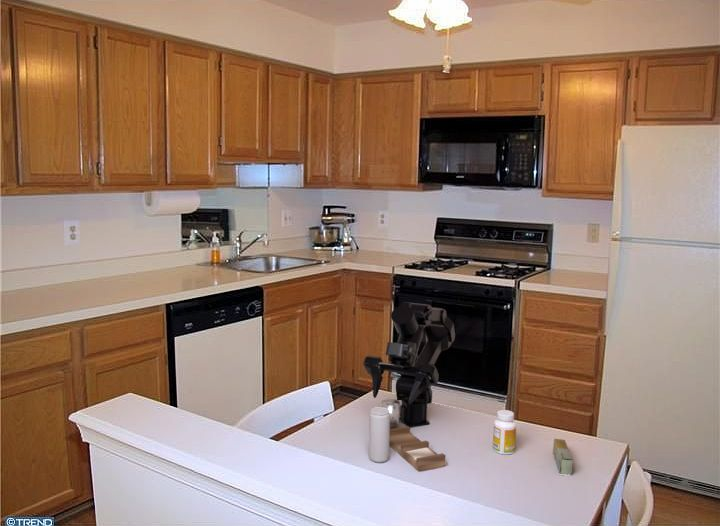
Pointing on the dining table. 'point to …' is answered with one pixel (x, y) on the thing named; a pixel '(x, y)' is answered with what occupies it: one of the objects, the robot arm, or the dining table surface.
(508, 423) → the supplement bottle
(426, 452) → the walnut rail
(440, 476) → the dining table surface
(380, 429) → the beverage can
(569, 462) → the medication box
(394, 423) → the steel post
